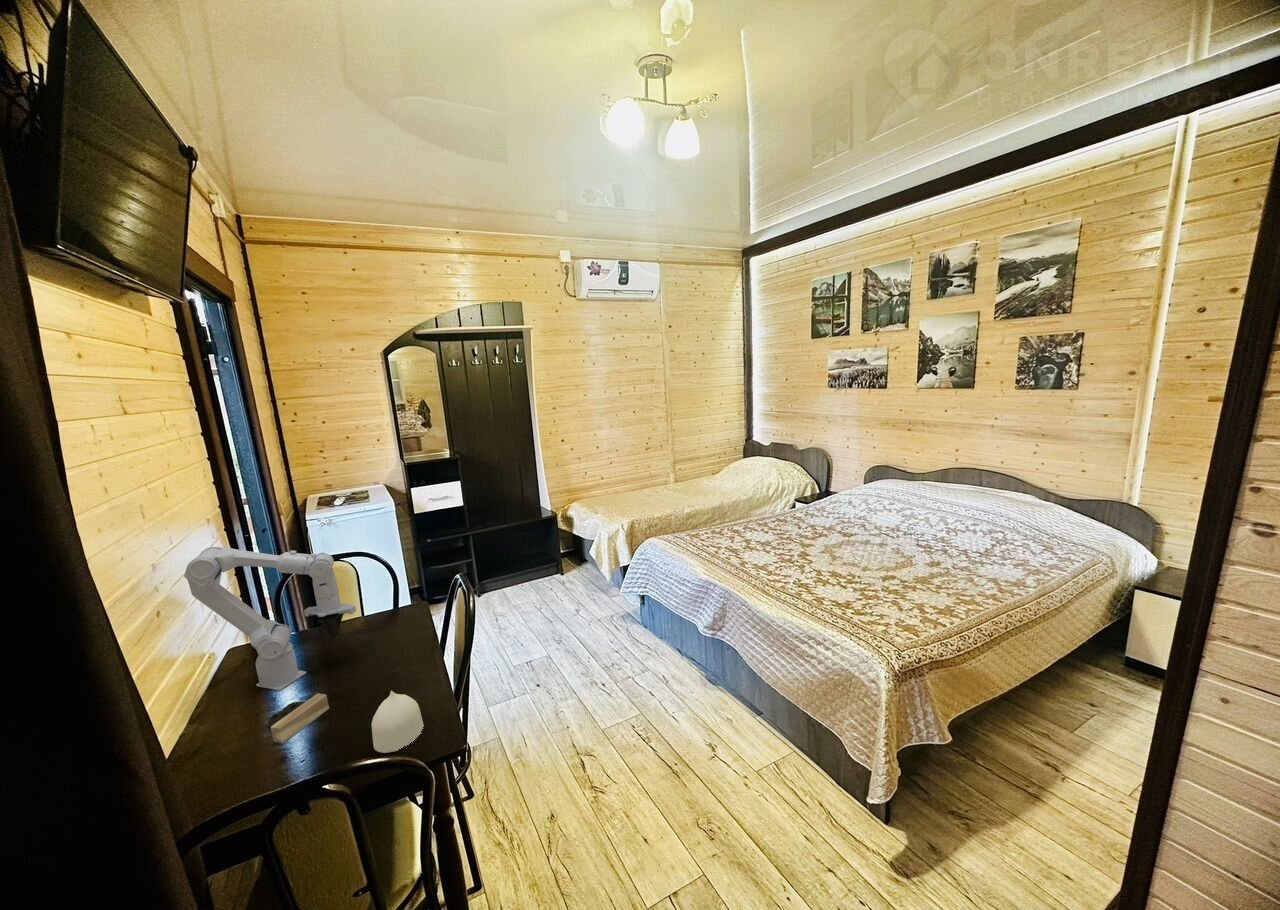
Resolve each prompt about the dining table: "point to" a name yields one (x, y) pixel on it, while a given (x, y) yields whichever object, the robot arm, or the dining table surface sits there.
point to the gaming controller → (283, 712)
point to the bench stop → (299, 718)
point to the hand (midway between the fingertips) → (335, 635)
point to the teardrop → (396, 723)
